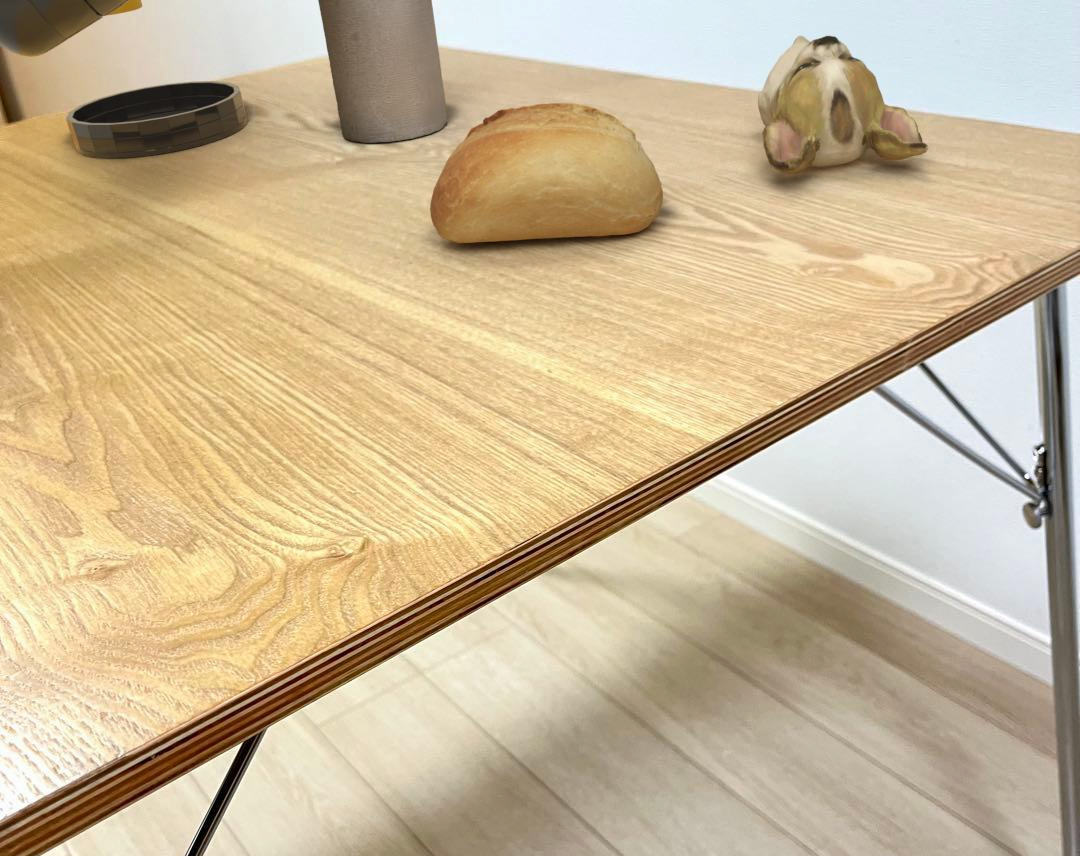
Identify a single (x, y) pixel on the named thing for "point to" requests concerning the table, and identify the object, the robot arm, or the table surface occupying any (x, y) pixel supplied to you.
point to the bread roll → (546, 178)
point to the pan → (157, 119)
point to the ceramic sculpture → (829, 110)
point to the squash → (128, 7)
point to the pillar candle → (384, 68)
